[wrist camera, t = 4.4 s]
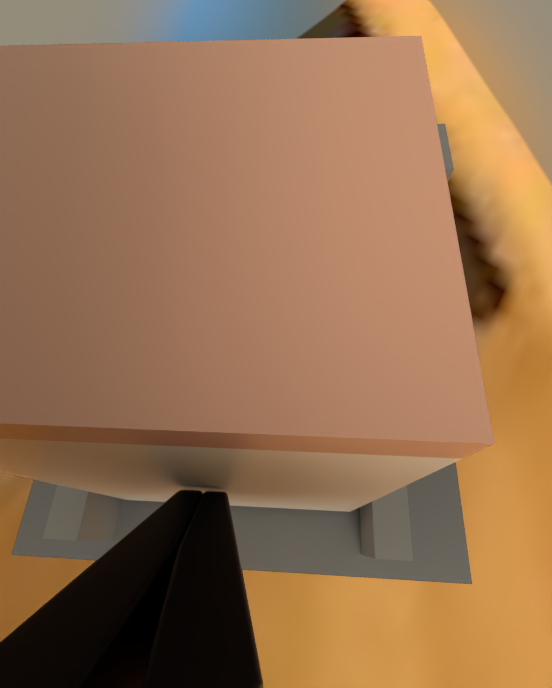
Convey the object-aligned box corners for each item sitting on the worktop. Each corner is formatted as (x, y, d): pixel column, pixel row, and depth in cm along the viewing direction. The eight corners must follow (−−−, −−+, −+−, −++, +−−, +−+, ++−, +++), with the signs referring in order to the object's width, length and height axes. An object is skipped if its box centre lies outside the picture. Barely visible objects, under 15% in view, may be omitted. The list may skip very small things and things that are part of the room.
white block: (350, 511, 11) (495, 443, 3) (128, 499, 11) (-281, 411, 3) (345, 340, 13) (420, 36, 5) (160, 336, 13) (-38, 46, 5)
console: (425, 571, 14) (537, 601, 7) (82, 550, 14) (-85, 560, 8) (394, 242, 20) (441, 103, 13) (154, 240, 20) (90, 108, 14)
